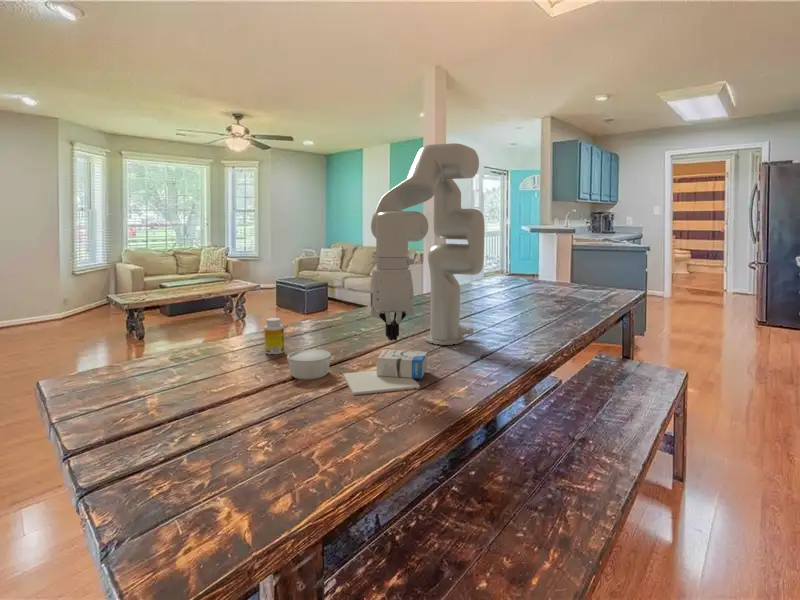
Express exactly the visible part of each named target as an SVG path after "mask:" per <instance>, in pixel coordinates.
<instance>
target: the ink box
mask: <svg viewBox="0 0 800 600" xmlns="http://www.w3.org/2000/svg"><path fill="white" fill-rule="evenodd" d="M376 359H377V360H376V371H377V376H390V377H405V378H413V379H419V380H420V379H423V377H424V375H425V373H426V371H427V369H428V351H419V350H417V351H415V350H403V349H401V350H400V349H389V348H387V349H386V348H385V349H383V350H382V352H381V353H380V354H379V355H378V357H377V358H376Z"/></svg>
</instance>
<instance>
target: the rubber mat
mask: <svg viewBox="0 0 800 600" xmlns="http://www.w3.org/2000/svg"><path fill="white" fill-rule="evenodd" d="M342 376H343V378H344V380H345V382H346V384H347V386H348V387H349V389H350V391H351V393H352V395H353V396H355V395H365V394H375V393H377V394H378V393H385V392H395V391H404V390H405V389H407V390H414V388H416V389H420V388H421V386H420V384H419V383H418V382H417V381H416V380H415V378H405V377H390V376H377V370H369V371H368V370H367V371H359V372H358V371H357V372H344V373H342ZM405 391H406V390H405Z"/></svg>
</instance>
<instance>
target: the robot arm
mask: <svg viewBox="0 0 800 600" xmlns="http://www.w3.org/2000/svg"><path fill="white" fill-rule="evenodd" d="M479 167H480V159H479V155H478V153H477V151H476V149H474V148H472V147H471V146H467V145H465V144H462V143H438V144H437V143H436V144H435V143H434V144H427V145H424V146H422V147H421V148H420V149H419V150H418V151H417V152H416V155H415V157H414V159H413V162H412V164H411V166H410V169H409V171H408V173H407V176H406V179H404V180H403V181H401V182H400V183H399V184H397V185H395V186H393V188H392V189H390V190H388V192H386V193H385V194H384V195H383V196H382V197H381V198H380V200H379V201H378V203H377V205H376V208H375V210H374V212H373V215H372V218H371V223H370V230H371V233H372V236H373V237H374V238H375V239H376V245H375V246H376V248H375V249H376V252H375V253H376V254H375V255H376V259H375V260H376V263H375V264H376V266H375V268H376V269H373V270H372V273H371V279H370V280H371V281H370V293H369V306H370V311H369V312H370V313H369V314H370V316H372V317H374V318H378V319H381V320H382V321H383V322H384V323H385V337H386V338H387V339H388V340H389V341H391V342H392V341H398V337H399V336H400V324H401V323H402V320H403V319H404V318H406V317H408V316H412V315H413V314H415V312H414V305H415V299H414V298H415V296H414V284H413V278H412V270H411V269H409V267H410V266H411V265H414V263H415V262H414V259H413V258H409V242H410V243H414V242H415V243H416V242H419V241H422V240H423V239H424V238H425V237H426V236H427V235H428V232H429V221H428V218H427V217H426V216H425V214H424V213H422V212H420V211H416V210H412V211H410V210H406V209H409V208H411V207H414V206H418V205H420V204H424V203H425V202H427V201H429V200H431V199H432V198H433V231H434V235H435V237H437V238H439V239H443V240H462V241H464V240H465V241H467V243H468V244H467V243H466V244H464V243H438V244H434V245H433V246H432V247H430V249H429V251H428V254H427V260H428V261H427V262H428V269H429V273H430V274H429V275H430V320H429V322H430V323H429V324H430V326H429V329H430V331H429V333H428V334H427V335H426V336H425V337H424V338H425V341H426V342H427V343H430V344H432V343H433V345H438V344H439V345H440V346H453V344H455V345H459V343H460V344H462V343H464V342H465V337H464V336H465V335H473V334H474V329H473V327H469V328H467V327H463V326H461V325H460V324H461V323H460V320H461V319H460V317H461V315H460V314H461V287H460V286H461V285H460V283H459V281H458V280H457V278H456V277H455V276H454V275H468V276H473V275H475V276H476V275H479V274H480V273H481V272H482V270H483V269H484V268H483V267H484V262H485V261H484V259H485V225H486V224H485V217H484V215H483V213H482V211H481V210H479V209H476V208H462V192H461V189H460V187H459V186H458V184H457V183H456V181H455V180H458V179H461V180H462V179H467V180H468V179H473V178H474V177H475V176H476V175H477V173H478V172H479ZM391 313H393V317H391ZM439 345H438V346H439Z"/></svg>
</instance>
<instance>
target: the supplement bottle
mask: <svg viewBox="0 0 800 600" xmlns="http://www.w3.org/2000/svg"><path fill="white" fill-rule="evenodd" d="M281 322H282V321H281V318H280V317H279V318H278V317H271V318H266V325H264V327H263V331H264V332H263V333H264V337H263V338H264V351H265V353H266V354H267V355H271V354H274V355H280V354H283V353H284V352H285V339H284V337H285V333H284V325H282V324H281Z"/></svg>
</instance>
